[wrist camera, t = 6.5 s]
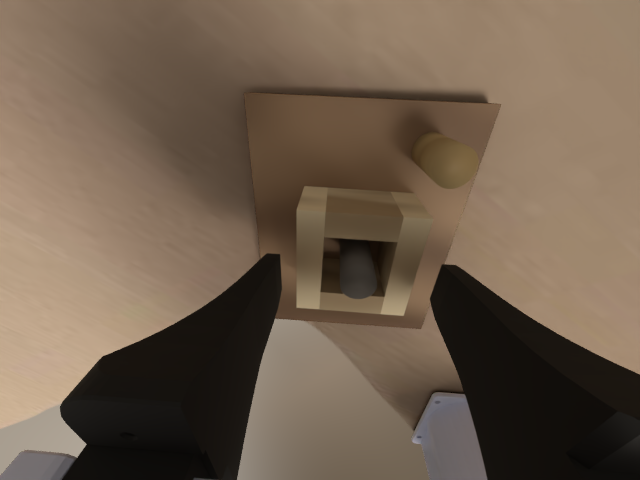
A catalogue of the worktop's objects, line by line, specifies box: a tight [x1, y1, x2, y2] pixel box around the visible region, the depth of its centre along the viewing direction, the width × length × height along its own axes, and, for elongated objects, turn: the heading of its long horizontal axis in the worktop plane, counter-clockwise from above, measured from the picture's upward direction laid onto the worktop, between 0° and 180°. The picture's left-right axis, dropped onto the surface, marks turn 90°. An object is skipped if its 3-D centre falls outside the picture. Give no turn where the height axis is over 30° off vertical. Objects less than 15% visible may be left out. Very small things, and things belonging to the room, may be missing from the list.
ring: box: [297, 186, 433, 316], centre depth 13 cm, size 6×6×3 cm
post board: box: [244, 92, 501, 329], centre depth 13 cm, size 14×11×5 cm
